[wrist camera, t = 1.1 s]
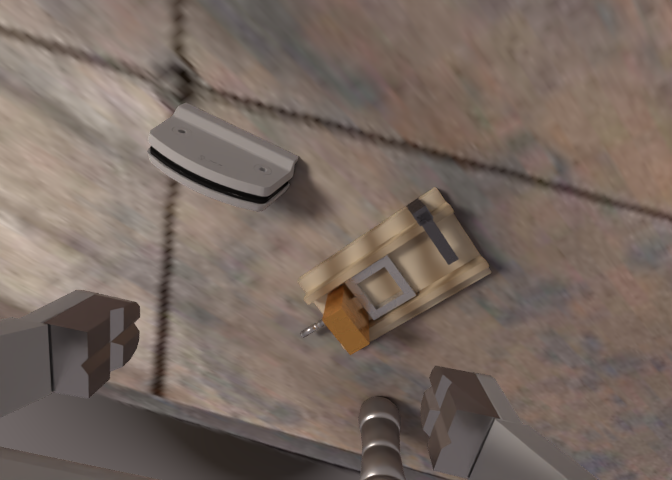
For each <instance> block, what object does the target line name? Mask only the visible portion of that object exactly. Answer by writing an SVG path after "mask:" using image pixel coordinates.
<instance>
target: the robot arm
mask: <svg viewBox="0 0 672 480" xmlns="http://www.w3.org/2000/svg"><path fill="white" fill-rule="evenodd" d="M139 318H140V306H139V305H138V304H137V303H136V302H134V301H129V300H125V299H121V298H116V297H112V296H108V295H103V294H99V293H95V292H90V291H85V290H75V291H73V292H71V293H69V294H67V295H65V296H63V297H61V298H59V299H57V300H55V301H53V302H51V303H49V304H47V305H45V306H43V307H41V308H39V309H37V310H35V311H33V312H31V313H29V314H27V315H25V316H23V317H21V318H19V319H18V318H13V317H11V318H6V319H1V320H0V418H1V417H3V416H5V415H7V414H10V413H12V412H14V411H16V410H18V409H21V408H23V407H25V406H27V405H29V404H31V403H34V402H36V401H38V400H40V399H42V398H44V397H46V396H49V395H51V394H52V392H54V393H60V394H66V395H71V396H77V397H82V398H90V397H91V396H92V395H93V394H94V393H95V392H96V391H97V390H98V389H99V388H101V387H102V386H103V385H104V384H105V383H106V382H107V381H108V380H109V379H110V371H113V370H115V369H118V368H121V367H123V366H124V365H125V364H126V363H127V362H128V361H129V360H130V359H131V357H132V356H133V354H134V352H135V351H136V349H137V345H138V342H139V330H138V328H137V327H136V325H135V324H134V323H135V322H136V321H137V320H138V319H139ZM429 379H430V382H431V385H432V386H431V387H430V388H429V389H427V390H426V391H425V392H424V395H423V398H422V401H421V411H420V414H421V423H422V427H423V430H424V431H425V432H426V433H427V435H428V436H429V437H430V438H429V441H428V443H427V447H428V451H429V455H430V459H431V463H432V467H433V471H438V472H442V473H446V474H450V475H454V476H458V477H463V478H467V479H469V480H598V479H597V478H596V477H594V476H593V475H592V474H591V473H589V472H588V471H587V470H585V469H584V468H583V467H582V466H580V465H579V464H578V463H577V462H575V461H574V460H573V459H571V458H570V457H569V456H568V455H566V454H565V453H564V452H563V451H561V450H560V449H559V448H557V447H556V446H555V445H554V444H552V443H551V442H550V441H549V440H547V439H546V438H545V437H543V436H542V435H541V434H540V433H538V432H537V431H536V430H535V429H533V428H532V427H531V426H529V425H524V424H523V423H522V421H521V420H520V418H519V416H518V415H517V413H516V412H515V410H514V408H513V407H512V405H511V404H510V402H509V400H508V399H507V397H506V396H505V394H504V392H503V391H502V389H501V388H500V386H499V384H498V383H497V381H496V380H495V378H493V377H492V376H490V375H485V374H479V373H474V372H466V371H461V370H456V369H451V368H445V367H440V366H435V367H434V368H433V369H432V372H431V374H430V377H429ZM0 480H159V479H154V478H149V477H144V476H140V475H135V474H130V473H125V472H120V471H115V470H111V469H106V468H101V467H96V466H91V465H86V464H81V463H77V462H72V461H67V460H62V459H57V458H52V457H48V456H43V455H38V454H33V453H28V452H23V451H19V450H14V449H9V448H4V447H0Z"/></svg>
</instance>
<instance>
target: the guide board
mask: <svg viewBox="0 0 672 480" xmlns="http://www.w3.org/2000/svg"><path fill="white" fill-rule="evenodd" d="M418 199H419V200H420V201H421V202H422V203H423V204H424V205H425V206H426V207H427V209H428V210H429V212H430V213H431V215H432V216H433V221H434V222H435V224H436V225H437V227H438V228H439V230H440V231H441V233H442V234H443V236H444V237H445V239H446V240H447V242H448V243H449V245H450V246H451V248H452V249H453V251H454V252H455V254H456V255H457V257H458V258H459V259H458V260H456V261H455V262H453V263H451V264H450V265H448V264H447V262H446V261H445V259H444V258H443V257H442V255H441V254H440V252H439V251H438V249H437V248H436V246H435V245H434V243H433V242H432V240H431V239H430V237H429V236H428V234H427V233H426V231H425V230H424V228H423V227H422V226H421V227H420V226H419V224H418V223H417V221H416V220H415V218H414V217H413V215H412V214H411V212H410V211H409V210H408V208H407V207H404V208H403V209H401V210H400V211H398V212H397V213H395V214H394V215H392V216H391V217H389V218H388V219H386V220H385V221H383V222H382V223H381V224H379V225H378V226H376V227H375V228H373V229H372V230H370V231H369V232H367V233H366V234H364V235H363V236H361V237H360V238H358V239H357V240H355V241H354V242H352V243H351V244H349V245H348V246H346V247H345V248H343V249H342V250H340V251H339V252H337V253H336V254H334V255H333V256H331V257H330V258H328V259H327V260H325V261H324V262H322V263H321V264H319V265H318V266H316V267H315V268H313V269H312V270H310V271H309V272H307V273H306V274H304V275H303V276H301V277H300V278H299V280H298V284H299V285H300V286H301V287H302V289H303V290H304V291H305V292H306V295H305V298H304V300H305V302H306V303H307V304H308V305H309V304H311V303H312V302H314V303H315V305H316V306H317V307H318V308H319V309H320V311H321V312H322V313H323V314H324V309H325V304H326V300H327V295H328V294H329V293H331V292H332V291H334V290H335V289H337V288H339V287H340V286H342V285H343V284H345V281H347V280H348V279H350V278H351V277H353V276H354V275H356V274H358V273H359V272H361V271H362V270H364V269H365V268H367V267H368V266H370V265H372V264H373V263H375V262H376V261H378V260H379V259H381V258H383V257H384V256H386V255H387V254H388V255H389V256H390V258H391V259H392V261H393V262H394V263H395V265H396V266H397V268H398V269H399V270H400V272H401V273H402V274H403V276H404V277H405V279H406V280H407V281H408V283H409V284H410V286H411V287H412V288H413V290H414V291H415V293H416V296H415V297H413V298H411V299H410V300H408V301H406V302H405V303H403V304H401V305H400V306H398V307H396V308H394V309H393V310H391V311H389V312H388V313H386V314H384V315H383V316H381V317H379V318H377V319H376V320H373V319H372V317H371V316H370V315H369V313H368V312H367V311H366V310H365V308H364V307H363V308H364V310H365V311H366V312H367V313H368V315H369V337H370V342H371V341H373V340H374V339H376V338H378V337H380V336H381V335H383V334H385V333H387V332H388V331H390V330H392V329H394V328H395V327H397V326H399V325H401V324H402V323H404V322H406V321H408V320H409V319H411V318H413V317H415V316H416V315H418V314H420V313H422V312H424V311H425V310H427V309H429V308H431V307H432V306H434V305H436V304H438V303H439V302H441V301H443V300H445V299H446V298H448V297H450V296H452V295H453V294H455V293H457V292H459V291H460V290H462V289H464V288H466V287H467V286H469V285H471V284H473V283H474V282H476V281H478V280H480V279H481V278H483V277H485V276H487V275H488V274H490V273H492V272H491V271H490V269H489V268H488V267H489V264H488V263H487V261H486V260H485V259H484V258H483V257H482V256H481V255H480V254H479V252H478V251H477V249H476V248H475V246H474V244H473V243H472V241H471V240H470V238H469V237H468V235H467V234H466V232H465V231H464V229H463V227H462V226H461V224H460V223H459V221H458V220H457V218H456V217H455V215H454V214H453V212H454V210H453V209H452V207H451V206H450V205H449V204H448V203H447V202H446V201H445V200H444V198H443V197H442V195H441V194H440V192H439V190H438V189H437V188H435V187H434V188H433V189H431V190H430V191H428V192H427V193H425V194H424V195H422V196H421V197H419V198H418ZM345 285H346V284H345ZM359 285H360V286H361V287H362V288H363V290H364V291H365V292H366V294H367V295H368V296H369V298H370V299H371V300H372V302H373V303H374V304H375V305H376V306H377V305H378V304H380V303H382V302H383V301H385V300H387V299H388V298H390V297H392V296H393V295H395V294H397V293H398V292H400V291H402V290H401V289H400V287H399V286H398V284H397V283H396V282H395V280H394V279H393V278H392V276H391V275H390V274H389V272H388V271H387V269H386V268H385V267H383V268H382V269H380V270H379V271H377V272H376V273H374V274H372V275H371V276H369V277H368V278H366V279H364V280H363V281H361V282H360V283H359ZM346 286H347V285H346ZM347 288H348V286H347ZM348 289H349V288H348ZM349 290H350V289H349ZM350 292H351V290H350ZM351 293H352V292H351ZM352 294H353V293H352ZM341 346H342V344H341ZM342 347H343V346H342ZM343 348H344V347H343ZM344 349H345V348H344Z"/></svg>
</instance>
